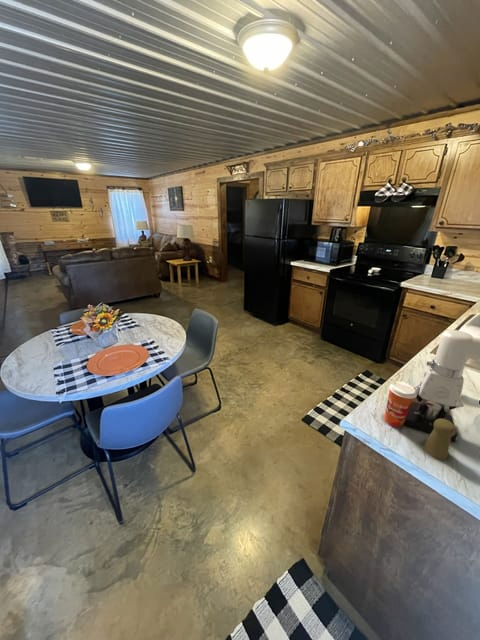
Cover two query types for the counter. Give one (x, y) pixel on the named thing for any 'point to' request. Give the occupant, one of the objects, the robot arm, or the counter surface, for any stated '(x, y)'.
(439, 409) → the knob
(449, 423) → the cork
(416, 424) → the panel
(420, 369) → the counter surface
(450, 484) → the counter surface
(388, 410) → the paper cup
